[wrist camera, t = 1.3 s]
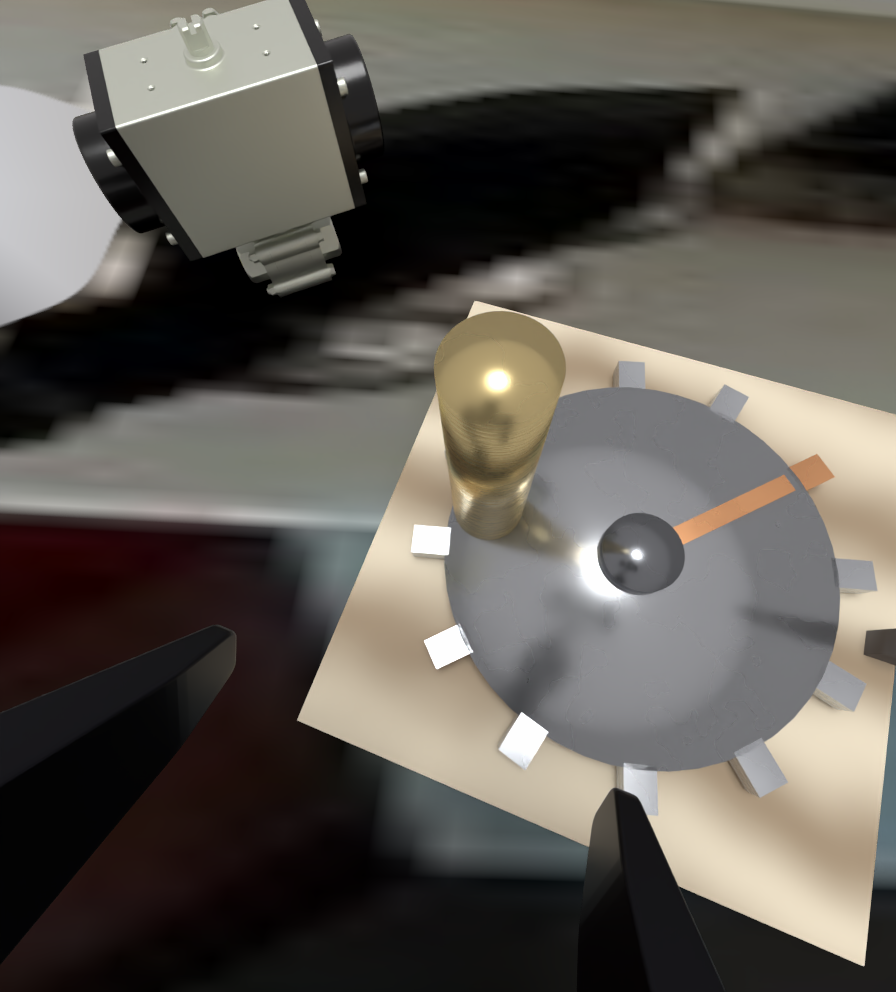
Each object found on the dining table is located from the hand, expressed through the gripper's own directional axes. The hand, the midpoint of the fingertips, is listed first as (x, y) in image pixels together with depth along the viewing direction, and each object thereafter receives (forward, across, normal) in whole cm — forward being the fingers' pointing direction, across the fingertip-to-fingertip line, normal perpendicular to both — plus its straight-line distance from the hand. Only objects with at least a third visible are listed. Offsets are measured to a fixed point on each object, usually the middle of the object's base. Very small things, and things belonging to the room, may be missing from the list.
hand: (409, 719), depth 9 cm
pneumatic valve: (+23, +16, -4) cm, 28 cm away
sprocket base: (+15, -6, +4) cm, 16 cm away
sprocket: (+14, -6, +3) cm, 15 cm away
